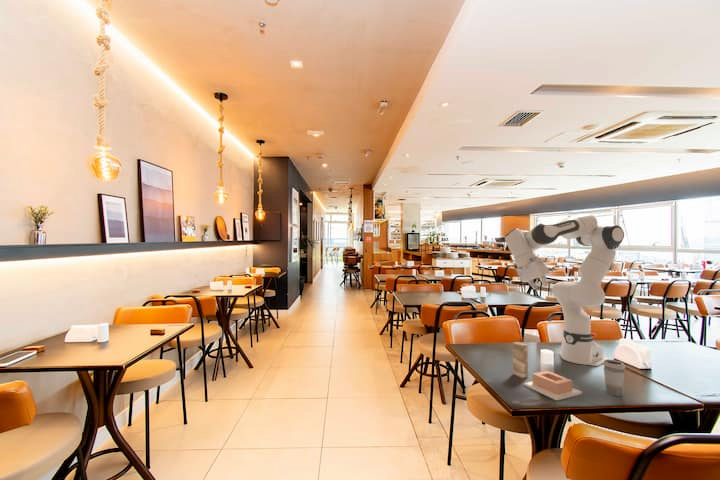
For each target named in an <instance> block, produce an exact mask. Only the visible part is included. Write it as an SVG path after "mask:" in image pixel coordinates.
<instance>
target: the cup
mask: <svg viewBox="0 0 720 480" xmlns="http://www.w3.org/2000/svg"><path fill="white" fill-rule="evenodd" d="M601 365H603V374H604V383H605V388H606V389H605V390H606V393H608V394H609V395H611V396H612V395H613V396H616V397H619V396H620V397H621V396H622V394H623V386H624V380H625V378H624V377H625V371H624V370H625V369H626V365H624V362H622V361H618V360H615V359H609V360H604V362H603V363H602V364H601Z"/></svg>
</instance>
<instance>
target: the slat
mask: <svg viewBox="0 0 720 480" xmlns="http://www.w3.org/2000/svg"><path fill="white" fill-rule="evenodd" d="M528 346H529V345H528V344H526V343H523V342H520V341H515V342H512V365H513V366H512V374H513V375H514V376H516V377H519V378H521V379H526V378H528V377H529V376H528V375H529V373H528V372H529V371H528V366H529V364H528V363H529V362H528V360H529V359H528V356H529V355H528V350H529V348H528Z"/></svg>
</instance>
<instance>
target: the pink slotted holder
mask: <svg viewBox="0 0 720 480" xmlns="http://www.w3.org/2000/svg"><path fill="white" fill-rule="evenodd" d="M523 384H524V386H525V387H527V388H529V389H531V390H533V391H536V392H537V393H540V394H542V395H544V396H545V397H548V398H551V399H552V400H555V401H561V400H564V399H567V398H573V397H576V396H581V395H582V394H583V393H582V391H581V390H579V389H577V388H573V379H570V378H567V377H564V376H561V375H560V374H557V373H555V372H552V371H549V370H545V371H539V372H534V373H532V381H528V382H524V383H523Z"/></svg>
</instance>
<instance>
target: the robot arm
mask: <svg viewBox="0 0 720 480" xmlns="http://www.w3.org/2000/svg"><path fill="white" fill-rule="evenodd" d="M559 237H562V238H564V239H566V240H572V239H575V240H576V241H577V243H578V244H579V245H581V246H583V247H591V250H590V252H589V253H588V255H586V257H585V259H583V261H582V263H581V265H580V266H579V268H578V269H577V273H578V276H579V277H580V280H579V281H577V282H575V281H567V280H566V281H558V282H556V283H554V285H553V286H552V289H551V290H552V291H551V292H552V296H553V297H554V298H555V299H556V300H557V302H558V303H559V305H560V307H561V310H562V314H563V320H564V325H563V327H564V329H563V332H562V333H563V335H562V336H563V339H561V348H560V351H559V353H558V354H559V356H560V358H561V359H562V360H564V361H566V362H570V363H573V364H579V365H585V366H587V365H588V366H594V367H598V366H600V365H603V364H602V363H603V362H604V360H610V359H609V357H606V356H604V355H603V353H604V352H603V348H602V347H601V346H600V345H599V344H598V343H596V342H595V341H594V338H596V337H597V333H594V332H592V331H591V324H592V322H591V321H592V320H591V317H590V315H589V314H587V312H586V311H585V310H584V308H583V307H587V308H588V307H594V308H595V307H600V306H601V305H603V304H604V302H605V300H606V294H605V291H604V289H603V288H602V281H603V279H604V278H605V276H606V274H607V273H608V271H609V269H611V267H612V264H613V263H614V260H615V258H616V252H615V249H618V248H619V246H620V245H621V244H622V242H623V240H624V237H625V232H624V229H623V228H622V227H621V226H620V225H618V224H611V223H610V224H598V220H597V218H596V217H595V216H594V215H592V214H590V213H583V214H576V215H573V216H569V217H567V218H564V219H563V220H561V221H559V222H555V223H550V222H549V223H548V222H541V223H539V224H537V225H535V227H533V228H532V229H530V230H522V229H519V228H517V227H516V228H514V229H512V230H510V231H509V232H507V233H506V234H505V235H504V240H505V243H506V245H507V247H508V250H509V252H510V253H511V254H512V256H513V259H514V260H515V261H514V263H513V269H514V270H516V273H517V275H518V277H519V278H520V280H521V281H522V282H523V283H527V284H528V285H529V286H530V287H531V288H532V289H533V290H537V289H539V287H538V285H537V284H536V283H535V282H534V280H535V279H538V278H539V279H540V280H541V284H542V287H548V286H549V283H548V280H547V278H548V277H547V275H550V270H549V268H548V266H547V265H546V263H545V262H544V260H542V259H540V257H538V256H536V255H535V253H534V251H537V250H539V249H541V248H543V247H544V246H548V244H549V245H550V244H551V243H553V242H555V241H557V239H558V238H559Z"/></svg>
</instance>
